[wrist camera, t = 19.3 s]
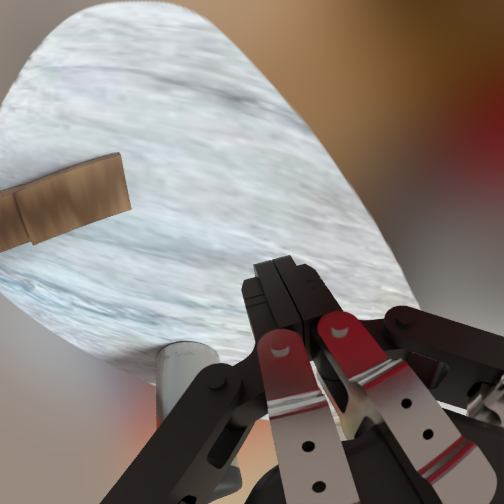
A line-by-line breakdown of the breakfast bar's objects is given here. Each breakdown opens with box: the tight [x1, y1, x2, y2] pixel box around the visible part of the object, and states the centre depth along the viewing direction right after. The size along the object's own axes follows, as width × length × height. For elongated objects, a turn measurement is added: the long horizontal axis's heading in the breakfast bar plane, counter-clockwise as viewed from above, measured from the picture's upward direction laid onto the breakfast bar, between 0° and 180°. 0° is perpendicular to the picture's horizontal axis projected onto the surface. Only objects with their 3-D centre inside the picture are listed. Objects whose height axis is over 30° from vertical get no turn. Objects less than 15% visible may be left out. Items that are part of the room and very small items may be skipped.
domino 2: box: [15, 152, 131, 246], centre depth 19 cm, size 5×2×10 cm
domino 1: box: [0, 184, 31, 253], centre depth 18 cm, size 5×2×10 cm
